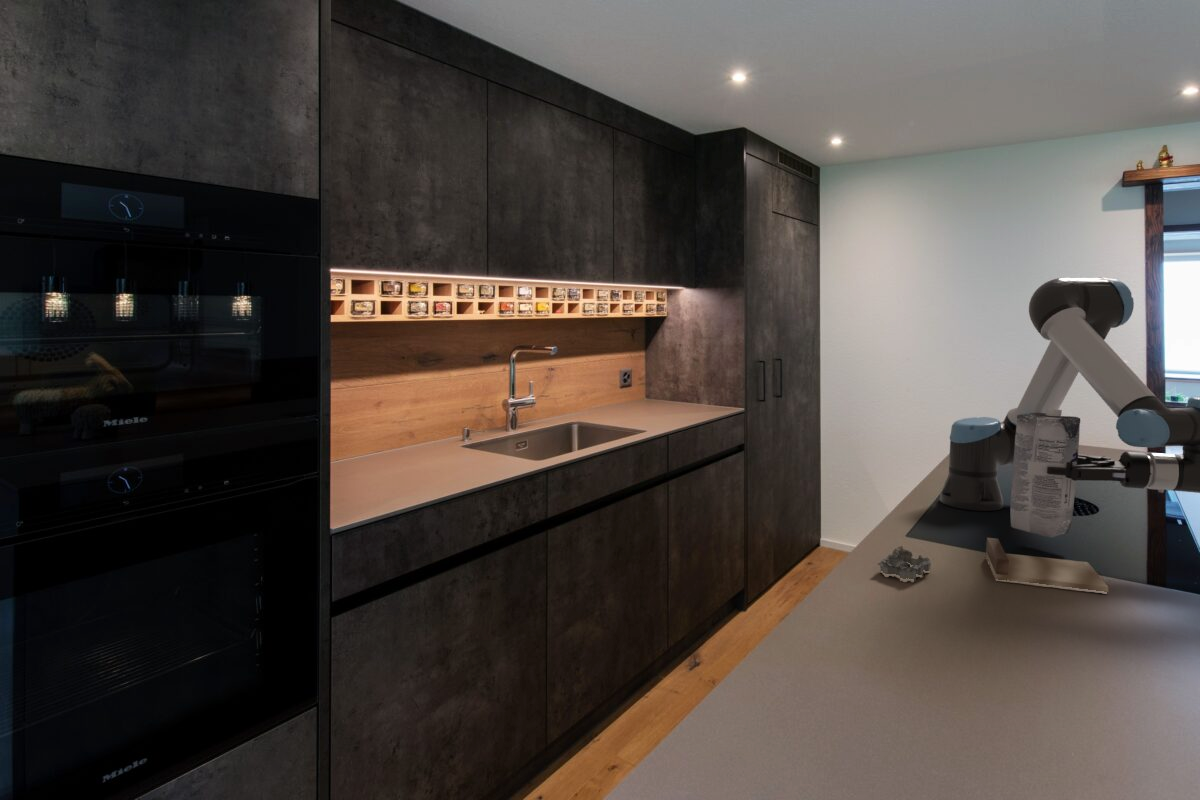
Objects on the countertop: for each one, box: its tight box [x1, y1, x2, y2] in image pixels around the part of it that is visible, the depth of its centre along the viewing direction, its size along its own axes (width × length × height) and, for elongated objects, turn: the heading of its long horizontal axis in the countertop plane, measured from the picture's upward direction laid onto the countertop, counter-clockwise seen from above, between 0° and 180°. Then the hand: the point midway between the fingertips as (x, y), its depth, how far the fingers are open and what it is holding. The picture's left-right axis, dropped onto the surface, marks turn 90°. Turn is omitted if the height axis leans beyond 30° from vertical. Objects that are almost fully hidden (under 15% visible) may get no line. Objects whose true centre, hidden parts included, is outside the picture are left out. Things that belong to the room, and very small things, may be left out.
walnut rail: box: [985, 537, 1009, 575], centre depth 138 cm, size 2×14×3 cm, turn 158°
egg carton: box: [877, 545, 934, 580], centre depth 137 cm, size 11×8×4 cm
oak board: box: [985, 551, 1109, 593], centre depth 135 cm, size 18×14×2 cm
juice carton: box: [1009, 409, 1081, 539], centre depth 150 cm, size 9×10×27 cm
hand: (1023, 462), depth 151 cm, fingers closed on juice carton, 11 cm apart
